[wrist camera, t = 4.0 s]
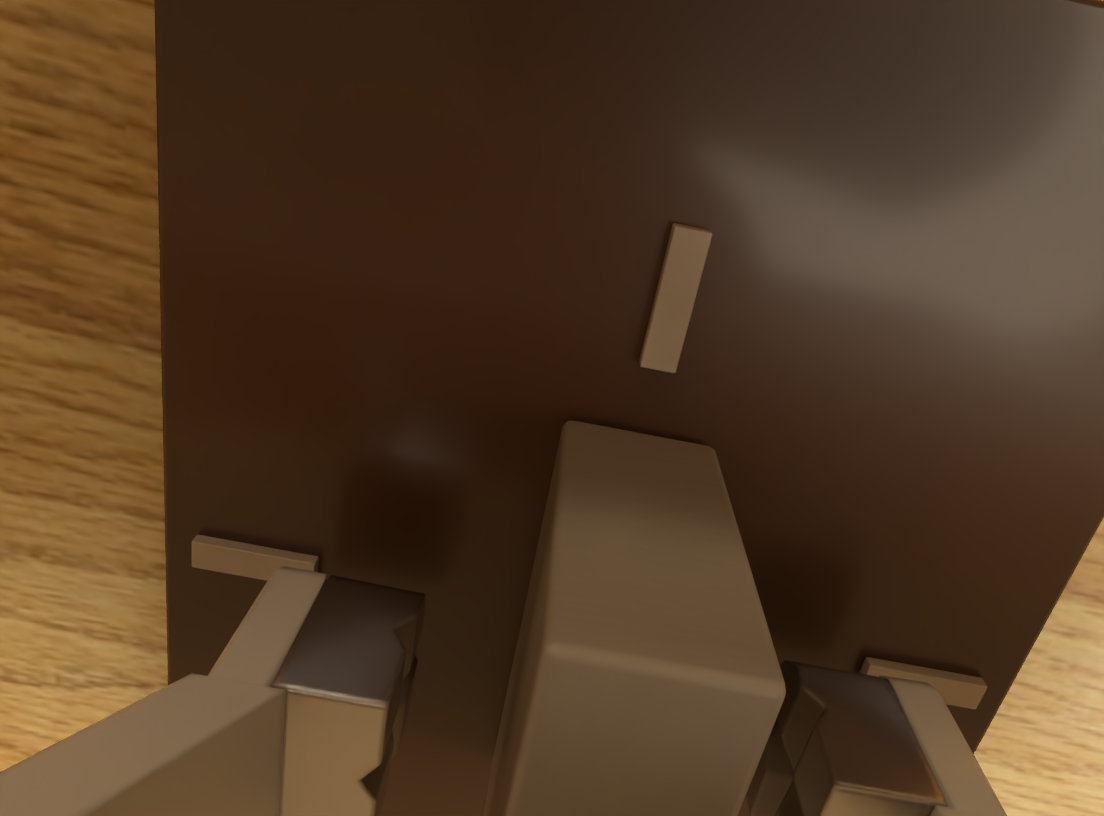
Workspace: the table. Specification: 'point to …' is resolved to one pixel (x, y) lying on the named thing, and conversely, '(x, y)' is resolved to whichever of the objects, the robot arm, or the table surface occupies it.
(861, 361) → the dial panel
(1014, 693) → the table surface
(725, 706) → the dial
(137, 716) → the robot arm
